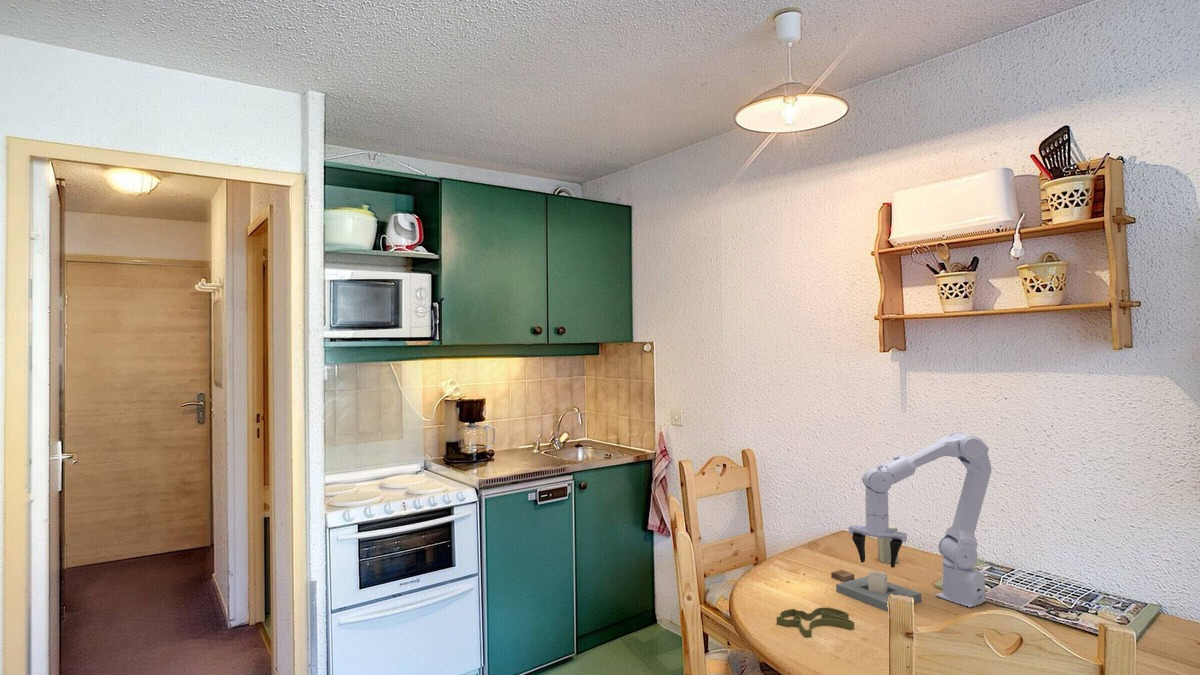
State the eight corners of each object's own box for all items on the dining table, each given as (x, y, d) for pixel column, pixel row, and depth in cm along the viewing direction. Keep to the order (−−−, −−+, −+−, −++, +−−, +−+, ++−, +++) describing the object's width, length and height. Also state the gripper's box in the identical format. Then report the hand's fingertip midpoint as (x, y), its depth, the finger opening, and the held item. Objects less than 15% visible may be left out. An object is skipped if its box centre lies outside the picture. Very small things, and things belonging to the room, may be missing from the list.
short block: (854, 581, 186) (854, 574, 187) (844, 583, 184) (844, 576, 184) (841, 576, 190) (841, 569, 190) (831, 579, 188) (831, 572, 188)
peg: (887, 595, 174) (887, 573, 174) (884, 600, 171) (884, 577, 171) (871, 592, 176) (871, 570, 177) (868, 596, 173) (868, 574, 173)
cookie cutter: (799, 641, 147) (799, 632, 147) (769, 620, 158) (769, 612, 158) (862, 629, 153) (862, 621, 153) (829, 611, 164) (829, 603, 164)
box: (894, 559, 206) (893, 524, 206) (898, 563, 201) (898, 528, 202) (877, 558, 206) (876, 524, 206) (881, 562, 202) (881, 527, 202)
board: (921, 600, 170) (921, 593, 170) (887, 611, 163) (887, 603, 163) (869, 582, 184) (869, 575, 184) (836, 591, 177) (836, 584, 177)
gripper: (908, 514, 173) (909, 565, 173) (852, 507, 182) (853, 555, 181) (903, 519, 168) (904, 572, 167) (846, 512, 176) (847, 562, 176)
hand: (877, 564), depth 174 cm, fingers open, 7 cm apart
